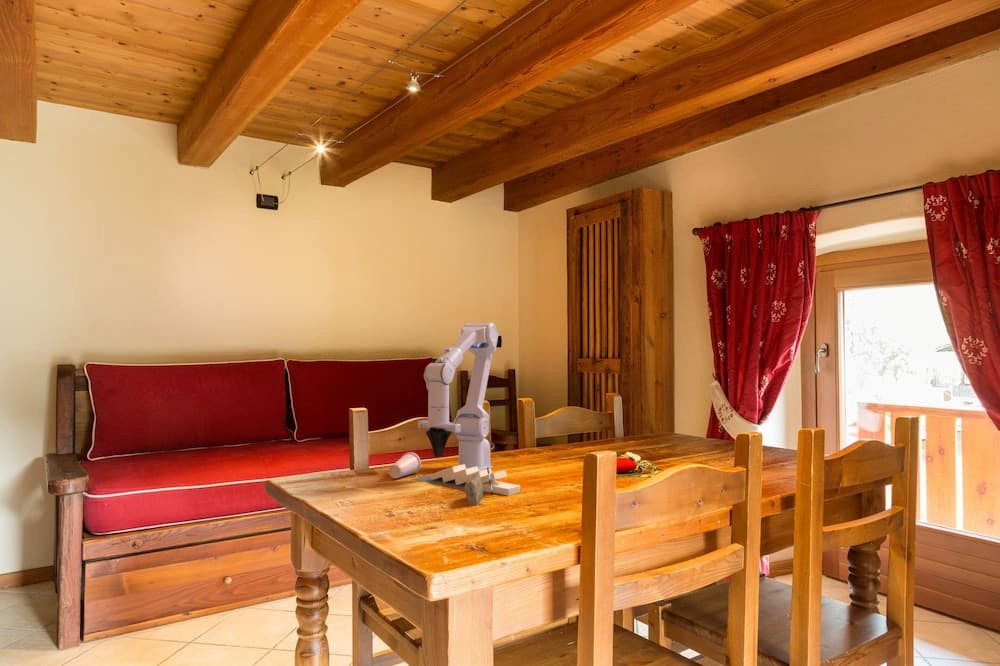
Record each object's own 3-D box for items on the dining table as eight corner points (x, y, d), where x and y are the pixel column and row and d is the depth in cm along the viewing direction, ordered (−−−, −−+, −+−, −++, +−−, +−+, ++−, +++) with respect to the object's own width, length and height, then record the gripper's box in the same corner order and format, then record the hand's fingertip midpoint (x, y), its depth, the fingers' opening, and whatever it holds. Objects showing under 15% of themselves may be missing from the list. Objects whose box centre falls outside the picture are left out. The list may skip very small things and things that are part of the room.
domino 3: (454, 479, 167) (478, 471, 162) (467, 476, 171) (490, 468, 166) (456, 485, 167) (480, 477, 162) (468, 482, 171) (492, 474, 165)
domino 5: (480, 483, 161) (508, 489, 156) (493, 480, 165) (520, 485, 159) (480, 490, 161) (508, 495, 156) (493, 486, 165) (520, 492, 159)
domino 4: (468, 481, 164) (493, 472, 159) (480, 478, 168) (505, 469, 162) (470, 487, 164) (495, 479, 158) (482, 484, 167) (507, 476, 162)
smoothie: (409, 477, 172) (432, 464, 185) (398, 456, 173) (421, 444, 186) (391, 487, 174) (415, 473, 187) (380, 466, 175) (405, 454, 188)
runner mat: (437, 474, 182) (437, 473, 182) (508, 488, 165) (508, 486, 165) (411, 480, 174) (411, 479, 174) (483, 495, 157) (483, 493, 157)
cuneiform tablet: (493, 495, 158) (486, 507, 146) (476, 498, 158) (467, 510, 146) (488, 467, 158) (480, 476, 146) (470, 470, 159) (462, 480, 147)
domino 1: (430, 474, 173) (452, 466, 168) (442, 471, 177) (464, 464, 171) (431, 480, 173) (454, 472, 167) (443, 477, 176) (466, 469, 171)
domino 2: (441, 476, 170) (465, 468, 165) (454, 473, 174) (477, 466, 169) (443, 482, 170) (466, 475, 164) (455, 479, 174) (479, 472, 168)
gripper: (409, 406, 176) (409, 455, 176) (447, 409, 167) (447, 461, 167) (428, 404, 182) (428, 451, 181) (465, 407, 172) (465, 457, 172)
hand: (438, 456), depth 174 cm, fingers closed
